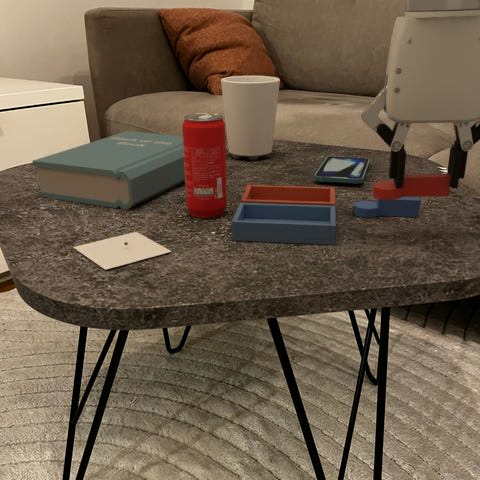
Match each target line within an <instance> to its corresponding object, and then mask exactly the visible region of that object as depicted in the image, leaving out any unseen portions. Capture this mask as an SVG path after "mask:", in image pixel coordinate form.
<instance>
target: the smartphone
mask: <svg viewBox="0 0 480 480" xmlns="http://www.w3.org/2000/svg"><path fill="white" fill-rule="evenodd" d="M370 163H371V158H367V157H353V156H337V155H329V156H326V157H325V159H324V160H323V161H322V163H321V164H320V166H319V167H318V169H317V170H316V172H315V173H314V174H313V180H314V181H316V182H319V183H340V184H341V183H342V184H355V185H356V184H359V185H360V184H363V183H364V180H365V177H366V175H367V172H368V170H369V167H370V165H371V164H370Z"/></svg>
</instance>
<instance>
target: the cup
mask: <svg viewBox="0 0 480 480" xmlns="http://www.w3.org/2000/svg"><path fill="white" fill-rule="evenodd" d="M220 83H221V84H220V85H221V93H222V104H223V112H224V113H223V114H224V119H225V120H224V123H225V133H226V140H227V148H228V149H227V150H228V153H229V154H230V155H231V156H232V158H233V159H234V160H241V159H243V158H245V157H246V158H247V159H248V160H250V161H253V162H254V161H257V160H259V158H263V159H268V158H270V157H271V155H272V152H273V145H274V144H273V143H274V136H275V129H276V128H275V127H276V119H277V111H278V101H279V93H280V83H281V79H280V78H279V77H277V76H267V75H234V76H233V75H232V76H228V77H223V78H221V80H220Z"/></svg>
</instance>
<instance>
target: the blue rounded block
mask: <svg viewBox="0 0 480 480" xmlns="http://www.w3.org/2000/svg"><path fill="white" fill-rule="evenodd" d="M421 199H422V198H421V197H402V198H400V199H395V200H383V199H378V198H377V201H372V200H359V201H355V202H354V203H353V208H352V214H353V215H354V216H356V217H359V218H363V219H364V218H365V219H366V218H367V219H371V218H377V217H407V218H419V217H420V211H421V205H422V204H421V203H422V200H421Z"/></svg>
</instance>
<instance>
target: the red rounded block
mask: <svg viewBox="0 0 480 480" xmlns="http://www.w3.org/2000/svg"><path fill="white" fill-rule="evenodd" d="M450 178H451V176H450V175H449V173H447V172H446V173H404V184H403V187H401V188H396V186H395V183H394V180H383V181H378V182H375V183H374V184H373V189H372V196H373V197H374V198H375V199H377V200H378V199H383V200H395V199H400V198H402V197H420V198H421V197H422V198H423V197H424V198H425V197H449V196H450V192H451V191H450V190H451V187H450V186H449V185H450Z"/></svg>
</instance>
